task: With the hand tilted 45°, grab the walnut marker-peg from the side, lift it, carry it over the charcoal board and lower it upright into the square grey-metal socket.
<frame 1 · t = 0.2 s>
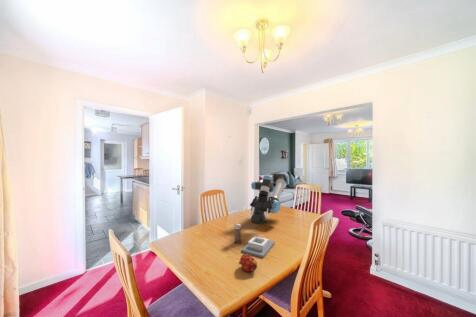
hand: (259, 215, 152), 15 cm above the table, fingers open, 13 cm apart
dragon fruit: (248, 269, 105), on the table
socket board: (258, 247, 130), on the table
walnut peg: (237, 242, 138), on the table
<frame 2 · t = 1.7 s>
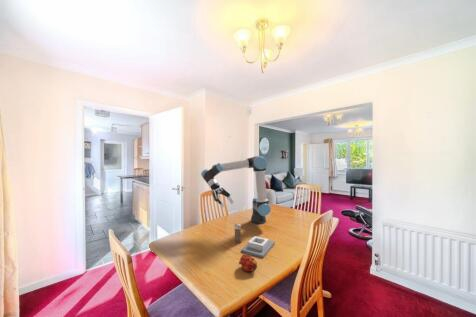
hand: (228, 204, 151), 25 cm above the table, fingers open, 13 cm apart
nothing on the table moved.
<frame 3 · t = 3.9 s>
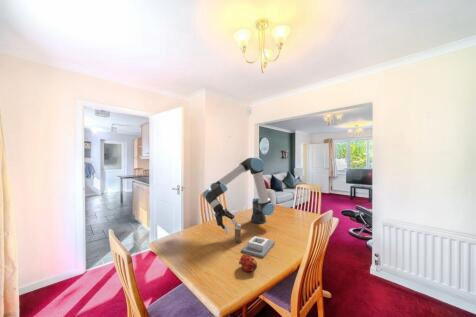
hand: (232, 228, 139), 10 cm above the table, fingers open, 13 cm apart
nothing on the table moved.
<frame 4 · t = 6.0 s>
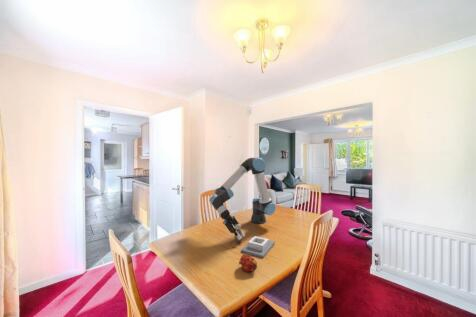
hand: (242, 237, 136), 4 cm above the table, fingers closed on walnut peg, 4 cm apart
walnut peg: (237, 242, 138), on the table, touching gripper
everything else where it was.
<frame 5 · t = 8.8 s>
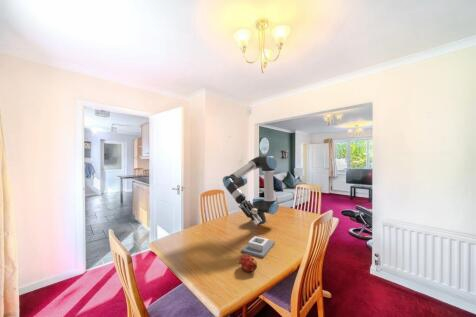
hand: (259, 222, 128), 18 cm above the table, fingers closed on walnut peg, 4 cm apart
walnut peg: (254, 227, 130), point 14 cm above the table, touching gripper
everything else where it was.
when the fingers open (7 cm above the table, at t = 11.9 s): walnut peg drops 1 cm, resting on socket board.
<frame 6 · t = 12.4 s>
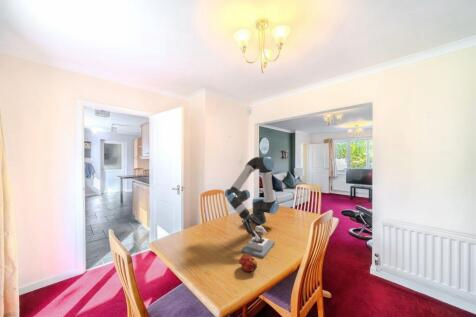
hand: (262, 236, 128), 8 cm above the table, fingers open, 11 cm apart
walnut peg: (258, 245, 130), point 1 cm above the table, touching socket board
everything else where it was.
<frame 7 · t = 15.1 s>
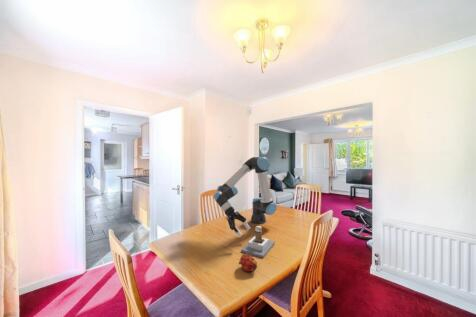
hand: (245, 232, 135), 9 cm above the table, fingers open, 13 cm apart
nothing on the table moved.
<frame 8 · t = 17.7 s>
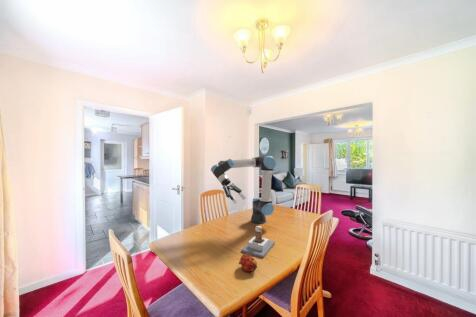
hand: (240, 201, 144), 30 cm above the table, fingers open, 13 cm apart
nothing on the table moved.
at the end: walnut peg 0.1 cm off-centre on the socket board, point 1.5 cm above the socket board's base; walnut peg tilted 0°; the gripper is holding nothing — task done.
